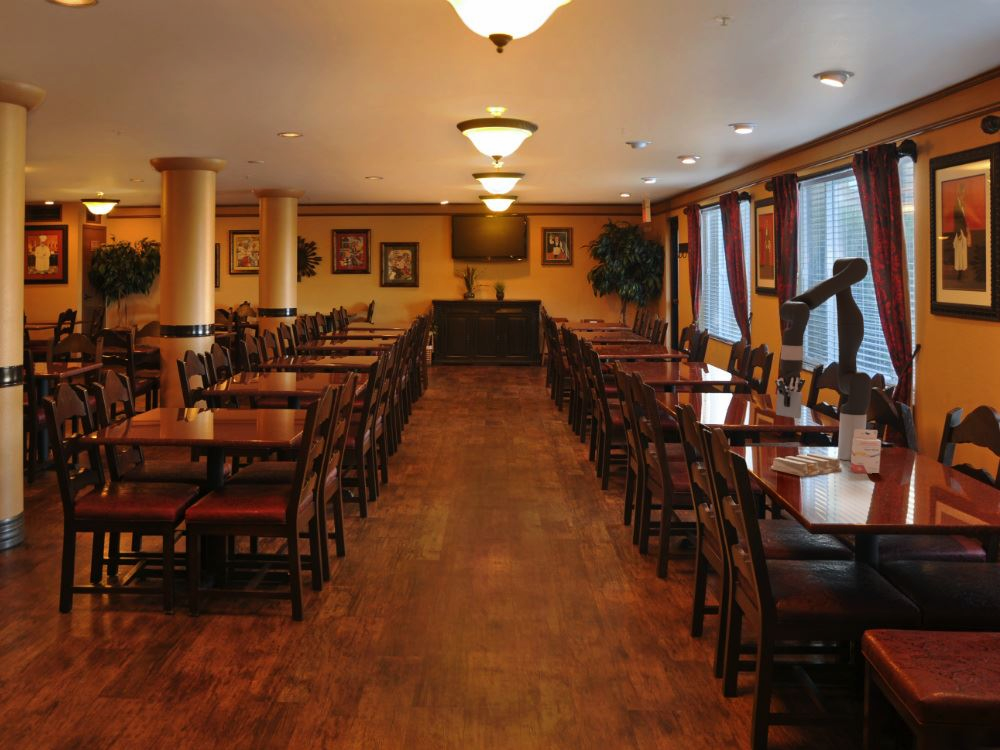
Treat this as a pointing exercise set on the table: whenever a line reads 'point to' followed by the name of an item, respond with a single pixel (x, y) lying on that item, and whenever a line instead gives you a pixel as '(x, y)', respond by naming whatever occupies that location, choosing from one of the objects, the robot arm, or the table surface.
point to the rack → (807, 464)
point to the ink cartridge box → (865, 452)
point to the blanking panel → (794, 407)
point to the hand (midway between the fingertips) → (788, 406)
